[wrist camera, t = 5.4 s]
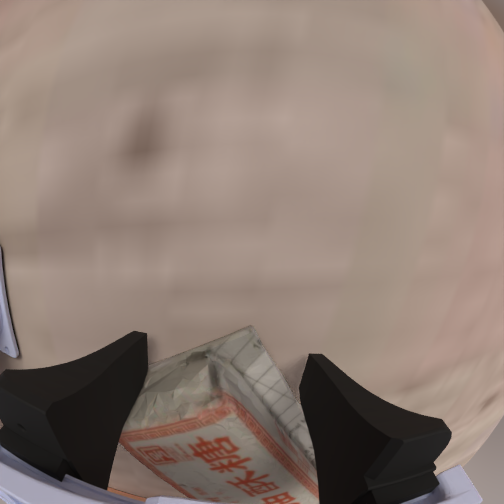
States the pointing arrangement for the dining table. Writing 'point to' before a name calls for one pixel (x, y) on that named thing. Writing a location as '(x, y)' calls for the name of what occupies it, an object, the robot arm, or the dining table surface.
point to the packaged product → (224, 426)
